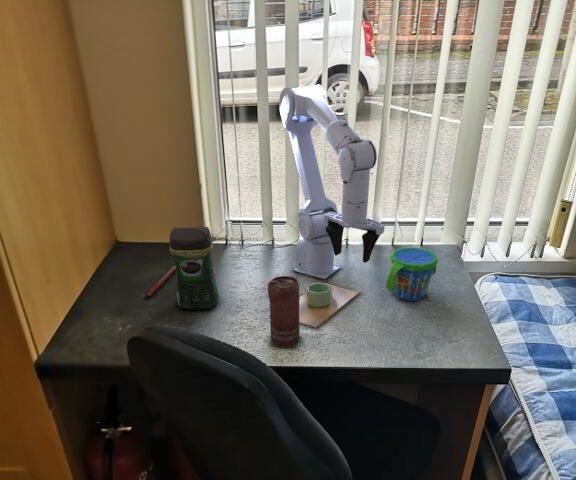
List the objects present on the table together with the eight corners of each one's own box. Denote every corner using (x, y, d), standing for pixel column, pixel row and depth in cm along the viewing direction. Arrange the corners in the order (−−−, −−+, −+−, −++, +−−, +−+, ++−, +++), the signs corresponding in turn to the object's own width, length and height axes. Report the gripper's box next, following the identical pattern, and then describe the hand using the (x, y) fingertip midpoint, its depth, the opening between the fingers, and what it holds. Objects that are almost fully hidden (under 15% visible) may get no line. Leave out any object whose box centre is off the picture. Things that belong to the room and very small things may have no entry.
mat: (275, 315, 132) (275, 314, 131) (320, 283, 145) (320, 281, 145) (316, 328, 126) (316, 327, 126) (358, 293, 140) (359, 292, 140)
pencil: (149, 298, 139) (149, 294, 139) (145, 297, 140) (145, 294, 139) (179, 266, 154) (179, 262, 154) (176, 265, 154) (175, 262, 154)
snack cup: (417, 279, 146) (422, 241, 140) (448, 294, 139) (455, 255, 133) (370, 295, 139) (373, 256, 133) (400, 312, 132) (405, 271, 126)
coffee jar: (220, 295, 140) (213, 221, 129) (217, 311, 134) (209, 234, 123) (181, 296, 140) (170, 222, 129) (175, 311, 134) (164, 235, 123)
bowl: (302, 304, 135) (302, 289, 132) (314, 295, 138) (315, 280, 136) (322, 310, 132) (322, 295, 130) (334, 301, 136) (335, 286, 134)
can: (268, 334, 125) (266, 275, 117) (297, 332, 125) (297, 274, 117) (270, 349, 120) (268, 289, 112) (300, 347, 120) (300, 287, 112)
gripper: (317, 199, 127) (316, 256, 135) (376, 211, 121) (371, 270, 129) (333, 190, 132) (331, 246, 140) (390, 201, 125) (385, 259, 133)
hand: (351, 257), depth 135 cm, fingers open, 7 cm apart
